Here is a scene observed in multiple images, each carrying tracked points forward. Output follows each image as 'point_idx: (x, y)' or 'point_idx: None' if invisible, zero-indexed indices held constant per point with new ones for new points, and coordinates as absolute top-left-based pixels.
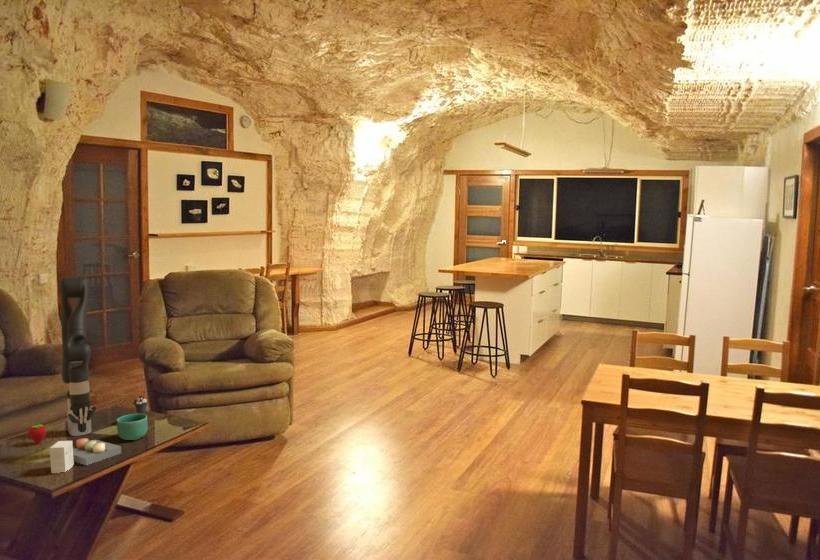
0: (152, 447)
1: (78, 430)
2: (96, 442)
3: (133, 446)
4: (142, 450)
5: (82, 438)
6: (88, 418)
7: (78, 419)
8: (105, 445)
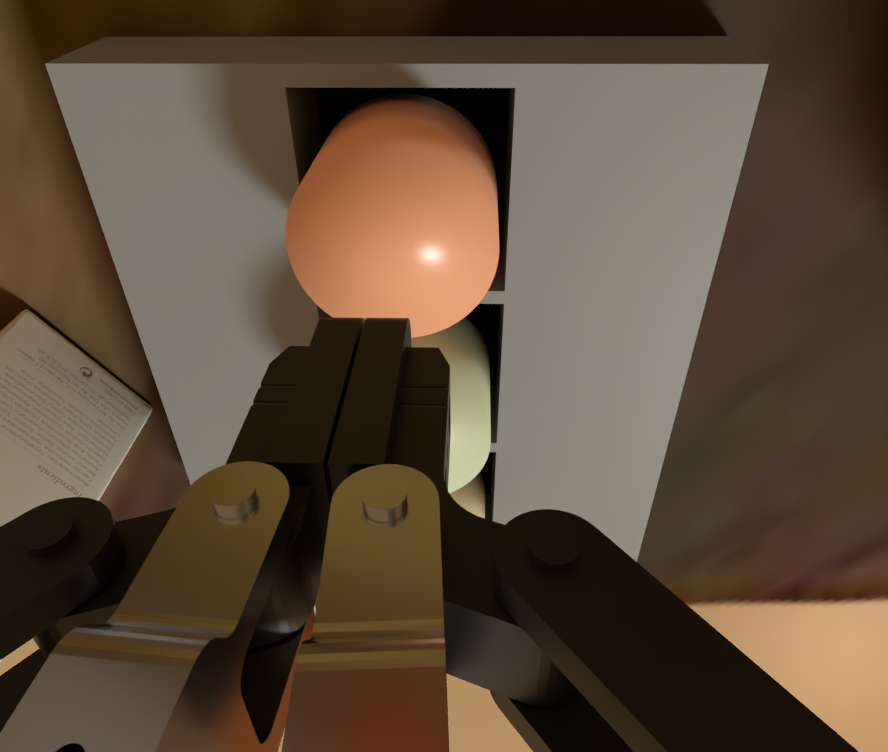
0: (850, 596)
1: (279, 365)
2: (466, 474)
3: (842, 462)
4: (752, 584)
5: (447, 170)
6: (520, 693)
7: (211, 608)
8: (588, 429)
